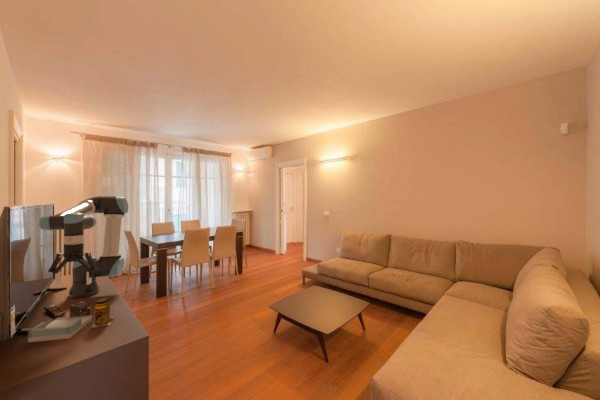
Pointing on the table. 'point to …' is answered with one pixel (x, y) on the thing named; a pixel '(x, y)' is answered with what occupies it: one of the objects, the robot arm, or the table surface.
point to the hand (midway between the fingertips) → (73, 284)
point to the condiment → (102, 313)
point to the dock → (58, 328)
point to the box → (80, 309)
